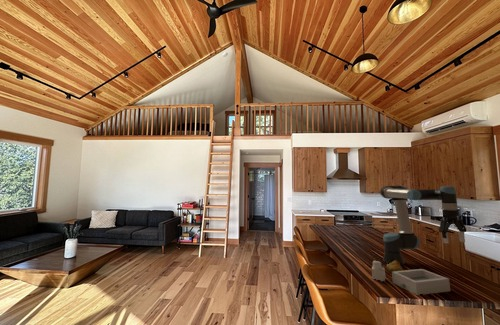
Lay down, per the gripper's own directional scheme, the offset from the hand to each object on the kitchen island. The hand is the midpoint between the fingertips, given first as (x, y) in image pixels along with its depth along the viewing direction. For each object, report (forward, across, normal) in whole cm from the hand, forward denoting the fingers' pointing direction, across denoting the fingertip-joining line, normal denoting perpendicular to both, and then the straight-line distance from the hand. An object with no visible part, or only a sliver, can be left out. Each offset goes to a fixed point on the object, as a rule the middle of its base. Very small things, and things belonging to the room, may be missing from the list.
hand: (454, 242), depth 140 cm
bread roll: (+27, -23, +26) cm, 43 cm away
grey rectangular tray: (+26, -26, +4) cm, 37 cm away
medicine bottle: (+27, -42, +20) cm, 54 cm away
